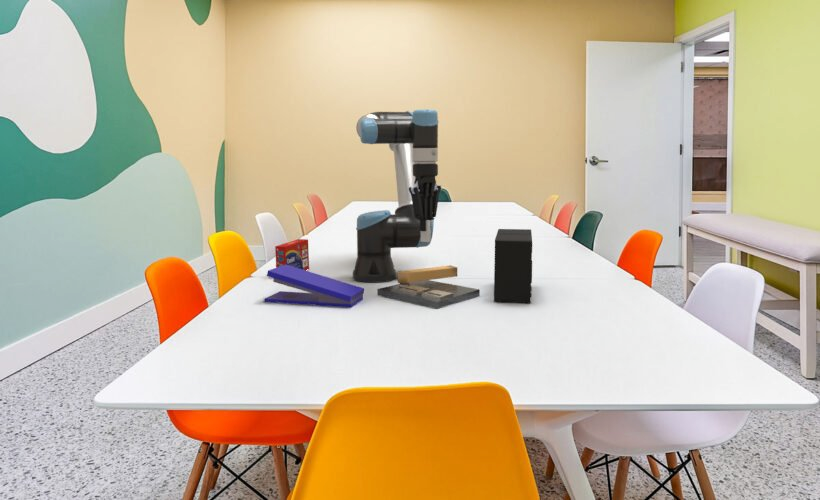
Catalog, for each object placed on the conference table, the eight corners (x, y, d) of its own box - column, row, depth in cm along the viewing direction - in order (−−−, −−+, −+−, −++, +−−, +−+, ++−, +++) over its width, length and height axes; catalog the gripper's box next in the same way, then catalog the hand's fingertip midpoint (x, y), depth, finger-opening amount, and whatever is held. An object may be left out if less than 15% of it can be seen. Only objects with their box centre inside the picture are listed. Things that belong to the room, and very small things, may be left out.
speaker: (531, 304, 168) (533, 240, 165) (493, 302, 170) (494, 239, 167) (530, 285, 192) (532, 229, 189) (497, 284, 194) (498, 228, 191)
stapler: (281, 294, 183) (279, 263, 181) (365, 299, 176) (365, 267, 174) (262, 303, 172) (261, 270, 170) (352, 309, 165) (351, 275, 163)
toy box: (299, 269, 222) (298, 239, 220) (309, 269, 221) (308, 239, 219) (276, 278, 205) (275, 246, 203) (286, 279, 204) (285, 246, 202)
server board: (377, 295, 179) (377, 286, 179) (420, 284, 194) (420, 276, 194) (437, 308, 163) (437, 299, 163) (479, 295, 178) (479, 287, 177)
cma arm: (401, 284, 181) (401, 273, 180) (395, 281, 184) (395, 271, 184) (457, 276, 191) (457, 267, 190) (450, 274, 194) (450, 265, 193)
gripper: (421, 163, 166) (421, 245, 170) (448, 162, 176) (448, 240, 180) (401, 163, 171) (402, 242, 175) (428, 162, 181) (429, 238, 185)
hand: (425, 241), depth 177 cm, fingers closed
